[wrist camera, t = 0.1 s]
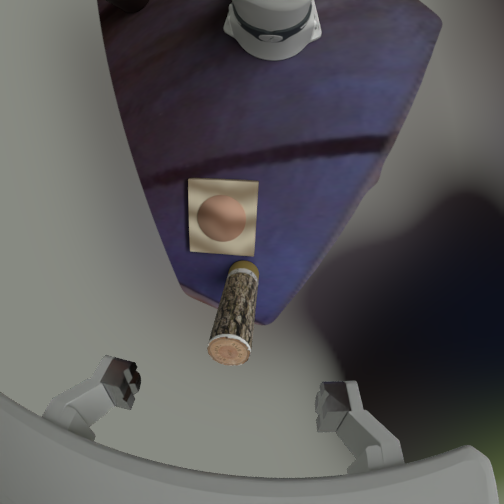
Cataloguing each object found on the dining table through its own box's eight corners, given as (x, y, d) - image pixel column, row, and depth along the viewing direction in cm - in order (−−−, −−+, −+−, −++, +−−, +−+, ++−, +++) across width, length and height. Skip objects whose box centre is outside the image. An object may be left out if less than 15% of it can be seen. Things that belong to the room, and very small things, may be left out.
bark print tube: (231, 285, 66) (211, 365, 43) (227, 259, 63) (203, 335, 40) (260, 284, 65) (252, 366, 42) (257, 258, 62) (248, 336, 40)
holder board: (190, 177, 55) (187, 179, 54) (258, 180, 55) (258, 182, 53) (191, 248, 62) (189, 251, 61) (254, 253, 62) (253, 257, 60)
